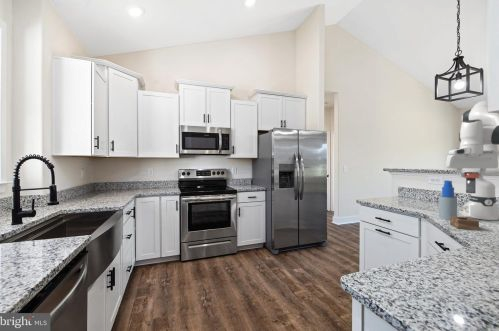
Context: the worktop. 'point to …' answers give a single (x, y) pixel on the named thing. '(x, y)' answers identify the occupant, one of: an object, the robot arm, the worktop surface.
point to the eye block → (464, 223)
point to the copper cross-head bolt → (471, 181)
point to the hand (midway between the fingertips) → (470, 177)
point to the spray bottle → (447, 201)
